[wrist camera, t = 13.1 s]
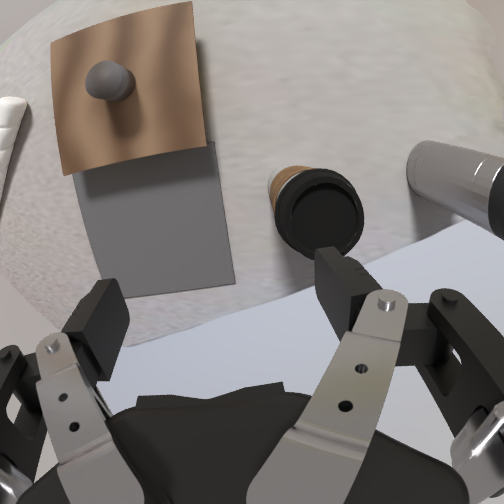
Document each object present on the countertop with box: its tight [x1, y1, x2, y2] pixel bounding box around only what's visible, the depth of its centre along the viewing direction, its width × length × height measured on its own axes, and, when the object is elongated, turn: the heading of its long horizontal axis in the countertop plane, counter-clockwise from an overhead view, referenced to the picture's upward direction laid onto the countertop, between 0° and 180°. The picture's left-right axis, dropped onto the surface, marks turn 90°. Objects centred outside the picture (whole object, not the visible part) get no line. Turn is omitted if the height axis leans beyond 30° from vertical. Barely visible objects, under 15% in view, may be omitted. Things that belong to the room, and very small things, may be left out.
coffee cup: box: [268, 164, 364, 260], centre depth 32 cm, size 8×8×15 cm
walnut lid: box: [51, 1, 207, 176], centre depth 25 cm, size 18×18×6 cm
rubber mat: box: [72, 142, 235, 298], centre depth 39 cm, size 20×20×1 cm
